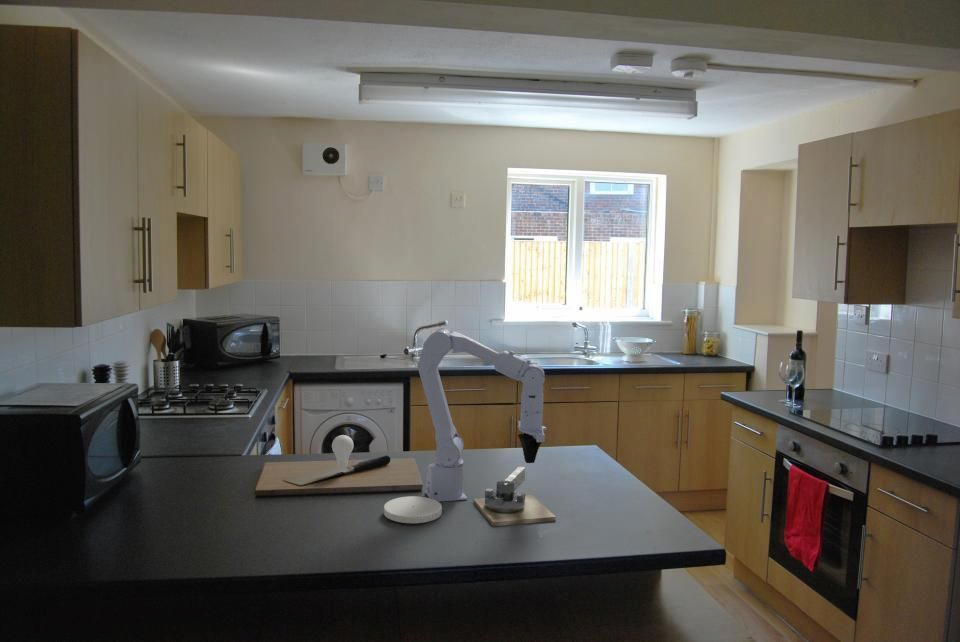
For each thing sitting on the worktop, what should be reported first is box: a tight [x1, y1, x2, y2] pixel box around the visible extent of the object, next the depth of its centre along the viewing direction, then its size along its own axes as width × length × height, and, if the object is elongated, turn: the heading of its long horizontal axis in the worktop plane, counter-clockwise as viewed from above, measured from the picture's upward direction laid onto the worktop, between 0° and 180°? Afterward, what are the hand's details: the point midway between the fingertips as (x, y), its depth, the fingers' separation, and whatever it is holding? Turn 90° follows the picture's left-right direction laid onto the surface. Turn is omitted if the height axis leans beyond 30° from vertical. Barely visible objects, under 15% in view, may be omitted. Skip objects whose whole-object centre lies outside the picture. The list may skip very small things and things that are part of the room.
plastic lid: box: [383, 495, 443, 524], centre depth 171 cm, size 14×14×2 cm
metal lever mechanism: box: [484, 466, 526, 513], centre depth 180 cm, size 20×10×6 cm, turn 161°
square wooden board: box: [473, 492, 557, 527], centre depth 176 cm, size 16×17×1 cm
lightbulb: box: [331, 434, 355, 469], centre depth 201 cm, size 6×6×11 cm
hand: (529, 462), depth 182 cm, fingers closed
